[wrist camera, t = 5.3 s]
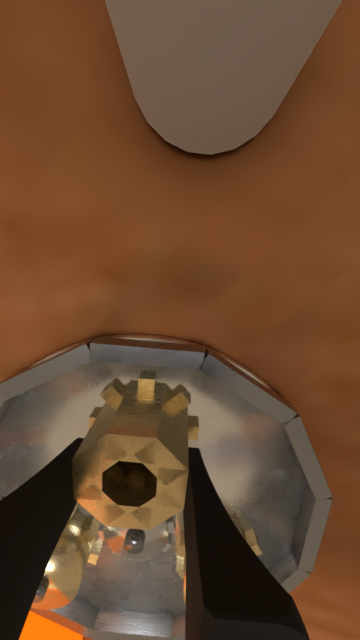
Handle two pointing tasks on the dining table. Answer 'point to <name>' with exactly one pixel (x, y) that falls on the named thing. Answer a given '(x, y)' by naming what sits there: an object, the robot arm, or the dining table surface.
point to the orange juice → (45, 630)
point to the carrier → (213, 441)
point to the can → (215, 63)
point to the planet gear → (136, 454)
